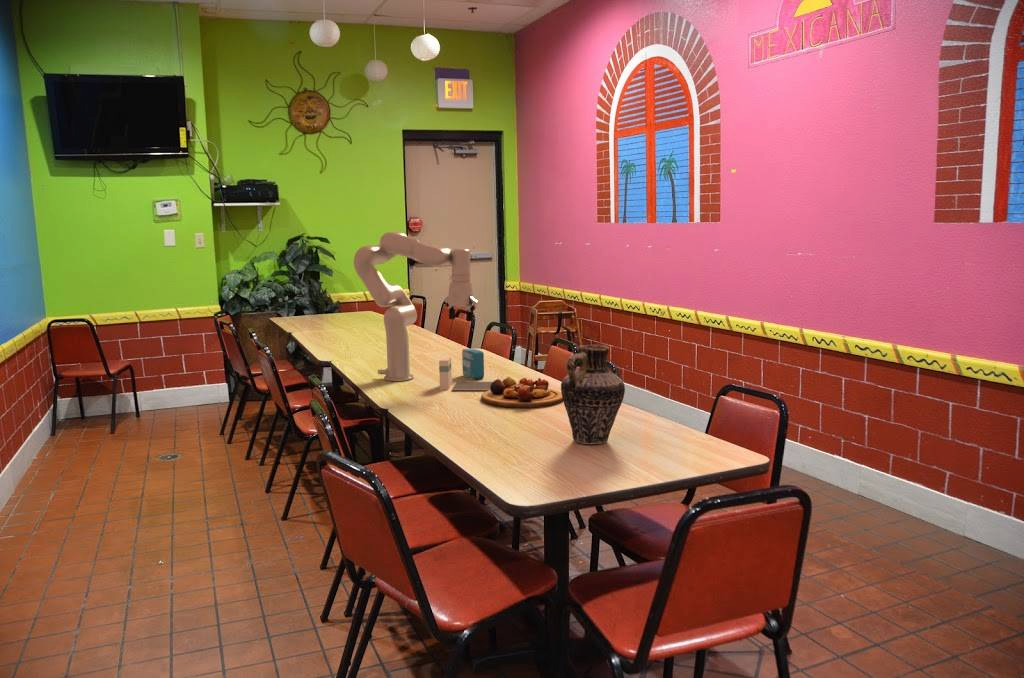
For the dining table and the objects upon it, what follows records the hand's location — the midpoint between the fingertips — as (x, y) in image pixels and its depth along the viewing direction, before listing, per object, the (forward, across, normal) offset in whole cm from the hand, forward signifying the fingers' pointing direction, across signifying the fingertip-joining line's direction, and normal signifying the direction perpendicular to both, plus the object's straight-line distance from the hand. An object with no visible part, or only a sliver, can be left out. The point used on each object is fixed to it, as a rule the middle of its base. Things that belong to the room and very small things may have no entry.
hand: (460, 319), depth 336 cm
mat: (+27, +11, -2) cm, 29 cm away
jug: (+25, +91, -46) cm, 105 cm away
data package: (+27, -4, +13) cm, 30 cm away
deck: (+27, 0, -10) cm, 29 cm away
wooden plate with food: (+27, +39, -10) cm, 48 cm away
